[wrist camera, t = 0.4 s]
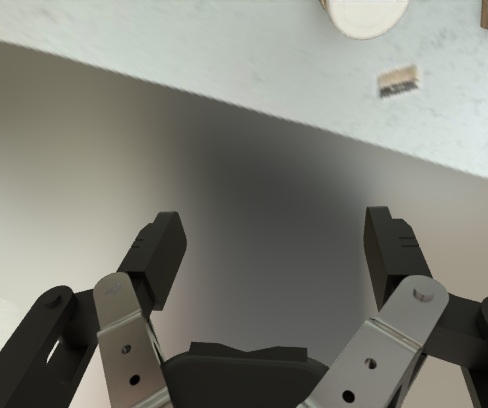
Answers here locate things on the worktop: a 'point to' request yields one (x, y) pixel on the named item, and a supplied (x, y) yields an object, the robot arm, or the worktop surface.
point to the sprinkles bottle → (364, 16)
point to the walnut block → (484, 14)
